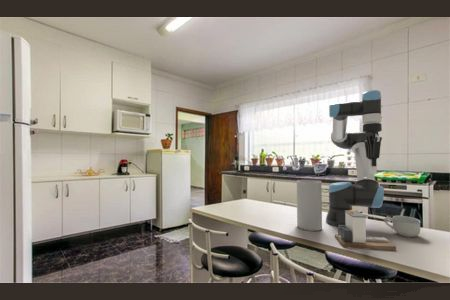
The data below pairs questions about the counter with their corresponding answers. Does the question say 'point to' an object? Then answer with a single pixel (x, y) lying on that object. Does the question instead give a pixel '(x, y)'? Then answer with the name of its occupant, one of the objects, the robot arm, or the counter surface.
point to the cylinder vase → (309, 205)
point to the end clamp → (345, 233)
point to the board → (367, 244)
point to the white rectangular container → (356, 225)
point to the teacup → (405, 225)
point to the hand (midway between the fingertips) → (372, 173)
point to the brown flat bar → (374, 239)
